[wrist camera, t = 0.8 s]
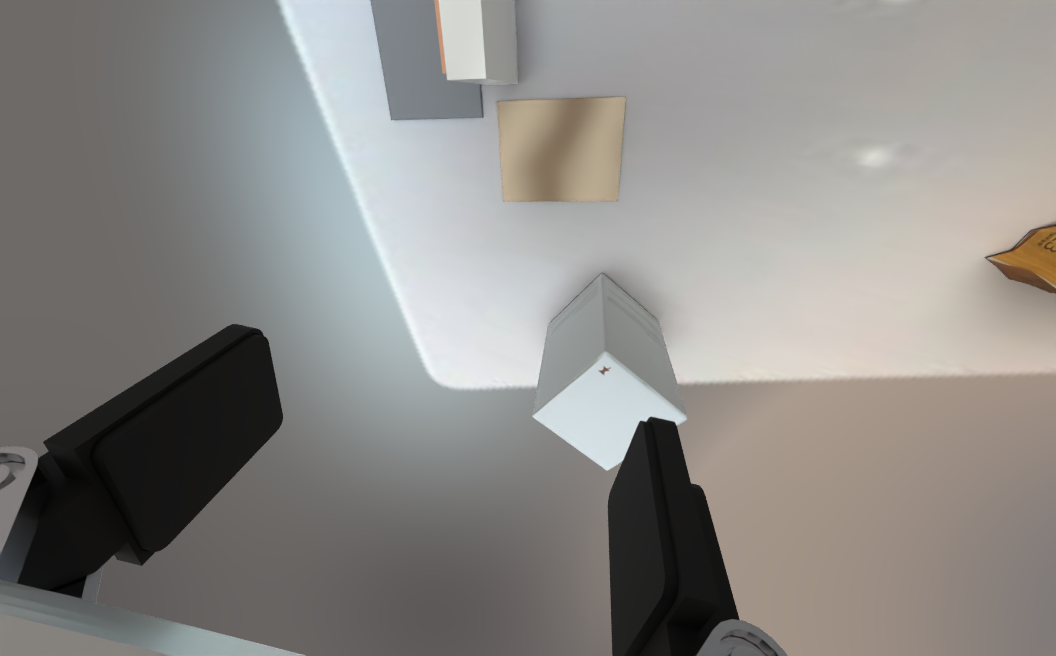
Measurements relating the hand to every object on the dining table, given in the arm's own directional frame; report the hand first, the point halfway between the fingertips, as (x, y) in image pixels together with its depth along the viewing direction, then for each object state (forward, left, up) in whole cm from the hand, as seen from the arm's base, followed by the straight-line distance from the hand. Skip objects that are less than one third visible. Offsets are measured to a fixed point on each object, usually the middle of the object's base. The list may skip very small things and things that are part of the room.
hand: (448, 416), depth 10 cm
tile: (+3, -12, -26) cm, 28 cm away
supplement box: (-5, +11, -26) cm, 29 cm away
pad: (-1, -3, -26) cm, 26 cm away
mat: (+8, -12, -26) cm, 29 cm away
